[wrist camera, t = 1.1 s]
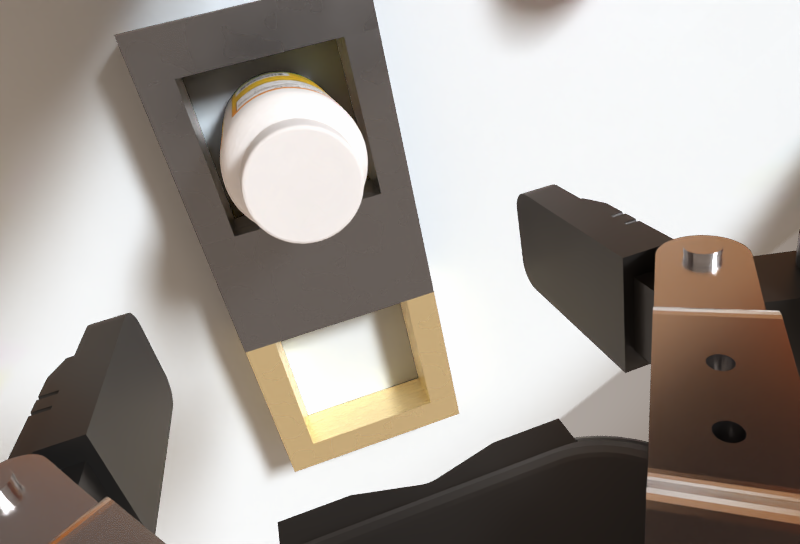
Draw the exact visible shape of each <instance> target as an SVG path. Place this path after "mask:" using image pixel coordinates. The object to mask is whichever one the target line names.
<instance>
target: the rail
mask: <svg viewBox="0 0 800 544" xmlns="http://www.w3.org/2000/svg"><path fill="white" fill-rule="evenodd" d="M114 36H115V38H116V40H117V43H118V45H119V48H120V50H121V53H122V55H123V57H124V60H125V62H126V65H127V67H128V69H129V72H130V74H131V77H132V79H133V82H134V84H135V86H136V89H137V91H138V94H139V96H140V98H141V101H142V103H143V106H144V108H145V111H146V113H147V115H148V118H149V120H150V123H151V125H152V127H153V130H154V132H155V135H156V137H157V140H158V142H159V144H160V147H161V149H162V152H163V154H164V156H165V159H166V161H167V164H168V166H169V169H170V171H171V173H172V176H173V178H174V181H175V183H176V185H177V188H178V190H179V193H180V195H181V198H182V200H183V202H184V205H185V207H186V210H187V212H188V215H189V217H190V219H191V222H192V224H193V227H194V229H195V231H196V234H197V236H198V239H199V241H200V244H201V246H202V248H203V251H204V253H205V256H206V258H207V260H208V263H209V265H210V268H211V270H212V273H213V275H214V277H215V280H216V282H217V285H218V287H219V289H220V292H221V294H222V297H223V299H224V302H225V304H226V306H227V309H228V311H229V314H230V316H231V318H232V321H233V323H234V326H235V328H236V331H237V333H238V335H239V338H240V340H241V343H242V345H243V347H244V350H245V352H246V355H247V357H248V360H249V362H250V364H251V367H252V369H253V372H254V374H255V376H256V379H257V381H258V384H259V386H260V389H261V391H262V393H263V396H264V398H265V401H266V403H267V405H268V408H269V410H270V413H271V415H272V418H273V420H274V422H275V425H276V427H277V430H278V432H279V434H280V437H281V439H282V442H283V444H284V447H285V449H286V451H287V454H288V456H289V459H290V461H291V463H292V466H293V468H294V471H295V472H296V471H299V470H302V469H305V468H307V467H310V466H313V465H316V464H319V463H321V462H324V461H327V460H330V459H333V458H336V457H338V456H341V455H344V454H347V453H350V452H352V451H355V450H358V449H361V448H364V447H367V446H369V445H372V444H375V443H378V442H381V441H383V440H386V439H389V438H392V437H395V436H397V435H400V434H403V433H406V432H409V431H412V430H414V429H417V428H420V427H423V426H426V425H428V424H431V423H434V422H437V421H440V420H443V419H445V418H448V417H451V416H454V415H457V414H459V411H458V406H457V401H456V396H455V392H454V387H453V382H452V377H451V372H450V368H449V363H448V358H447V353H446V348H445V344H444V339H443V334H442V329H441V324H440V320H439V315H438V310H437V305H436V300H435V296H434V291H433V286H432V281H431V276H430V272H429V267H428V262H427V257H426V252H425V248H424V243H423V238H422V233H421V228H420V224H419V219H418V214H417V209H416V204H415V200H414V195H413V190H412V185H411V181H410V176H409V171H408V166H407V161H406V157H405V152H404V147H403V142H402V137H401V133H400V128H399V123H398V118H397V113H396V109H395V104H394V99H393V94H392V89H391V85H390V80H389V75H388V70H387V65H386V61H385V56H384V51H383V46H382V41H381V37H380V32H379V27H378V22H377V17H376V13H375V8H374V3H373V0H259V1H255V2H250V3H246V4H242V5H238V6H233V7H229V8H225V9H221V10H217V11H212V12H208V13H204V14H200V15H196V16H191V17H187V18H183V19H179V20H174V21H170V22H166V23H162V24H158V25H153V26H149V27H145V28H141V29H137V30H132V31H128V32H124V33H120V34H116V35H114ZM333 39H336V41H337V45H338V49H339V53H340V57H341V62H342V66H343V70H344V74H345V78H346V82H347V86H348V90H349V94H350V99H351V103H352V107H353V111H354V115H355V119H356V123H357V126H358V128H359V130H360V132H361V134H362V136H363V139H364V142H365V145H366V150H367V156H368V173H369V177H370V180H366V181H365V185H364V190H363V197H362V200H361V203H360V206H359V208H358V210H357V212H356V214H355V215H354V217H353V218H352V220H351V221H350V222H349V223H348V224H347V225H346V226H345V227H344V228H343V229H342V230H341V231H340V232H338V233H336V234H335V235H333V236H331V237H329V238H327V239H325V240H322V241H318V242H314V243H307V244H300V243H291V242H286V241H283V240H280V239H277V238H275V237H273V236H271V235H270V234H268V233H267V232H265V231H264V230H263V229H261V228H260V227H259V226H258V225H257V224H256V223H255V222H253V221H252V220H250V219H249V218H248V217H247V216H241V217H238V218H234V216H233V213H232V211H231V208H230V205H229V203H228V200H227V197H226V195H225V192H224V189H223V187H222V184H221V181H220V179H219V176H218V173H217V170H216V168H215V165H214V162H213V160H212V157H211V154H210V152H209V149H208V146H207V144H206V141H205V138H204V136H203V133H202V130H201V128H200V125H199V122H198V120H197V117H196V114H195V112H194V109H193V106H192V104H191V101H190V98H189V96H188V93H187V90H186V88H185V85H184V82H183V80H182V77H186V76H190V75H194V74H198V73H202V72H206V71H210V70H213V69H217V68H221V67H225V66H229V65H233V64H237V63H241V62H245V61H249V60H253V59H257V58H261V57H265V56H269V55H273V54H277V53H281V52H285V51H289V50H293V49H297V48H301V47H305V46H309V45H313V44H317V43H321V42H325V41H329V40H333ZM398 303H400V304H401V308H402V312H403V316H404V320H405V325H406V329H407V333H408V337H409V341H410V345H411V349H412V353H413V357H414V362H415V366H416V370H417V374H418V378H417V379H414V380H411V381H408V382H405V383H402V384H399V385H396V386H393V387H390V388H387V389H384V390H382V391H379V392H376V393H373V394H370V395H367V396H364V397H361V398H358V399H355V400H352V401H349V402H346V403H344V404H341V405H338V406H335V407H332V408H329V409H326V410H323V411H320V412H317V413H314V414H311V415H308V414H307V411H306V409H305V406H304V403H303V401H302V398H301V395H300V392H299V390H298V387H297V384H296V382H295V379H294V376H293V374H292V371H291V368H290V366H289V363H288V360H287V358H286V355H285V352H284V350H283V347H282V344H281V342H280V341H283V340H286V339H289V338H293V337H296V336H299V335H302V334H305V333H308V332H311V331H314V330H317V329H321V328H324V327H327V326H330V325H333V324H336V323H339V322H342V321H345V320H349V319H352V318H355V317H358V316H361V315H364V314H367V313H370V312H373V311H376V310H380V309H383V308H386V307H389V306H392V305H395V304H398Z"/></svg>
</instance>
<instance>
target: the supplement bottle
mask: <svg viewBox="0 0 800 544" xmlns="http://www.w3.org/2000/svg"><path fill="white" fill-rule="evenodd" d="M220 166H221V173H222V177H223V182H224V185H225V187H226V190H227V192H228V194H229V196H230V197H231V199H232V201H233V202H234V204H235V205H236V206H237V208H238V209H239V210H240V211H241V212H242V213H243V214H244V215H245V216H247V217H248V218H249V219H250V220H252V221H253V222H255V223H256V224H257V225H258V226H259V227H260V228H261V229H263V230H264V231H265V232H267V233H268V234H270V235H271V236H273V237H275V238H277V239H280V240H283V241H286V242H291V243H300V244H307V243H314V242H318V241H322V240H325V239H327V238H329V237H331V236H333V235H335V234H336V233H338V232H340V231H341V230H342V229H343V228H344V227H345V226H346V225H347V224H348V223H349V222H350V221H351V220H352V218H353V217H354V215H355V214H356V212H357V210H358V208H359V206H360V203H361V200H362V197H363V190H364V185H365V181H366V177H367V169H368V156H367V150H366V145H365V142H364V139H363V136H362V134H361V132H360V130H359V128H358V126H357V125H356V123H355V122H354V120H353V119H352V118H351V116H350V115H349V114H348V113H347V112H346V111H345V110H344V109H343V108H342V107H341V106H340V105H339V104H338V103H337V102H335V101H334V100H333V99H332V98H331V97H330V96H329V95H328V94H327V93H326V92H325V91H324V90H323V89H322V88H320V87H319V86H318V85H317V84H315V83H314V82H312V81H311V80H309V79H308V78H306V77H304V76H301V75H298V74H295V73H291V72H283V71H275V72H267V73H263V74H260V75H257V76H255V77H253V78H251V79H250V80H248V81H246V82H245V83H244V84H243V85H241V86H240V87H239V88H238V89H237V90H236V92H235V93H234V94H233V95H232V97H231V99H230V100H229V102H228V105H227V107H226V110H225V113H224V118H223V124H222V138H221V148H220Z"/></svg>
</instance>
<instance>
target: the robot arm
mask: <svg viewBox="0 0 800 544" xmlns="http://www.w3.org/2000/svg"><path fill="white" fill-rule="evenodd" d="M517 213H518V221H519V230H520V238H521V247H522V256H523V263H524V267H525V271H526V274H527V276H528V278H529V280H530V282H531V284H532V285H533V287H534V288H535V289H536V290H537V291H538V292H539V293H541V294H542V295H543V296H544V297H545V298H546V299H547V300H548V301H549V302H550V303H551V304H552V305H553V306H554V307H556V308H557V309H558V310H559V311H560V312H561V313H562V314H563V315H564V316H565V317H566V318H567V319H568V320H569V321H570V322H572V323H573V324H574V325H575V326H576V327H577V328H578V329H579V330H580V331H581V332H582V333H583V334H584V335H585V336H587V337H588V338H589V339H590V340H591V341H592V342H593V343H594V344H595V345H596V346H597V347H598V348H599V349H600V350H602V351H603V352H604V353H605V354H606V355H607V356H608V357H609V358H610V359H611V360H612V361H613V362H614V363H615V364H616V365H618V366H619V367H620V368H621V369H622V370H623V371H624V372H625V373H626V372H629V371H631V370H634V369H637V368H640V367H643V366H645V365H648V364H651V385H650V415H649V442H646V441H641V440H637V439H630V438H623V437H612V436H589V437H588V436H586V437H576V438H573V436H572V435H571V434H570V433H569V431H568V430H567V429H566V427H565V426H564V425H563V424H562V422H561V421H560V420H559V419H556V420H553V421H551V422H548V423H545V424H543V425H540V426H537V427H535V428H532V429H529V430H526V431H524V432H521V433H518V434H516V435H513V436H510V437H507V438H505V439H502V440H499V441H497V442H494V443H492V444H491V445H489V446H487V447H486V448H484V449H483V450H481V451H480V452H478V453H477V454H475V455H473V456H472V457H470V458H469V459H467V460H466V461H464V462H462V463H461V464H459V465H458V466H456V467H455V468H453V469H452V470H450V471H448V472H447V473H445V474H444V475H442V476H441V477H439V478H438V479H436V480H434V481H432V482H430V483H427V484H423V485H417V486H410V487H403V488H397V489H390V490H384V491H377V492H370V493H364V494H357V495H351V496H348V497H345V498H342V499H340V500H337V501H334V502H332V503H329V504H326V505H323V506H321V507H318V508H315V509H313V510H310V511H307V512H305V513H302V514H299V515H296V516H294V517H291V518H288V519H286V520H283V521H280V522H278V530H279V541H280V544H800V231H799V238H798V246H797V251H790V252H783V253H775V254H767V255H760V256H753V255H752V253H751V251H750V250H749V249H748V248H747V247H746V246H745V245H743V244H741V243H739V242H737V241H734V240H732V239H728V238H724V237H718V236H709V235H695V236H685V237H680V238H676V239H672V238H670V237H668V236H667V235H665V234H663V233H661V232H659V231H657V230H655V229H653V228H651V227H650V226H648V225H646V224H644V223H642V222H640V221H637V222H636V219H635V218H633V217H631V216H629V215H627V214H623V213H622V212H621V211H620V210H618V209H616V208H614V207H612V206H610V205H608V204H606V203H602V202H598V201H593V200H588V199H580V198H578V197H576V196H575V195H573V194H571V193H569V192H567V191H566V190H564V189H562V188H560V187H559V186H557V185H549V186H546V187H543V188H540V189H536V190H533V191H530V192H526V193H523V194H520V195H519V197H518V199H517ZM38 397H39V400H36V402H35V404H34V406H33V409H32V411H31V416H29V417H28V419H27V421H26V423H25V425H24V427H23V429H22V431H21V433H20V435H19V437H18V439H17V442H16V444H15V446H14V448H13V450H12V452H11V454H10V456H9V458H8V460H6V461H3V462H1V463H0V544H165V543H164V542H163V541H162V540H160V539H159V538H158V537H157V536H156V535H155V532H156V524H157V517H158V510H159V503H160V496H161V489H162V481H163V474H164V467H165V460H166V453H167V446H168V438H169V431H170V424H171V417H172V410H173V399H172V393H171V389H170V385H169V382H168V380H167V377H166V375H165V373H164V371H163V369H162V367H161V365H160V363H159V361H158V359H157V357H156V355H155V353H154V351H153V349H152V347H151V345H150V343H149V341H148V339H147V337H146V335H145V333H144V332H143V330H142V328H141V326H140V324H139V322H138V320H137V319H136V318H135V316H134V315H132V314H131V313H127V314H123V315H120V316H117V317H114V318H110V319H107V320H104V321H100V322H97V323H94V324H91V325H89V326H87V328H86V330H85V333H84V335H83V337H82V339H81V342H80V344H79V346H78V349H77V351H76V353H75V355H74V356H72V357H69V358H66V359H65V360H64V361H63V362H62V363H61V365H60V366H59V367H58V368H57V369H56V370H55V371H54V372H53V373H52V374H51V375H50V376H49V377H48V378H47V380H46V382H45V384H44V386H43V388H42V390H41V392H40V394H39V396H38Z"/></svg>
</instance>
